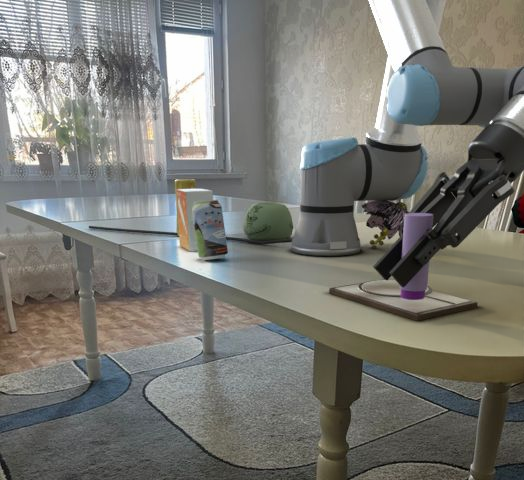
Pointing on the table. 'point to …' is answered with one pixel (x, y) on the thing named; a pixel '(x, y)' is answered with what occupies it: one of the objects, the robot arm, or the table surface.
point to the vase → (183, 185)
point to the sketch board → (402, 299)
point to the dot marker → (412, 233)
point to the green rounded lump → (268, 222)
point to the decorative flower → (385, 218)
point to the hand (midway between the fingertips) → (388, 276)
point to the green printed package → (209, 229)
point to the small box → (189, 215)
